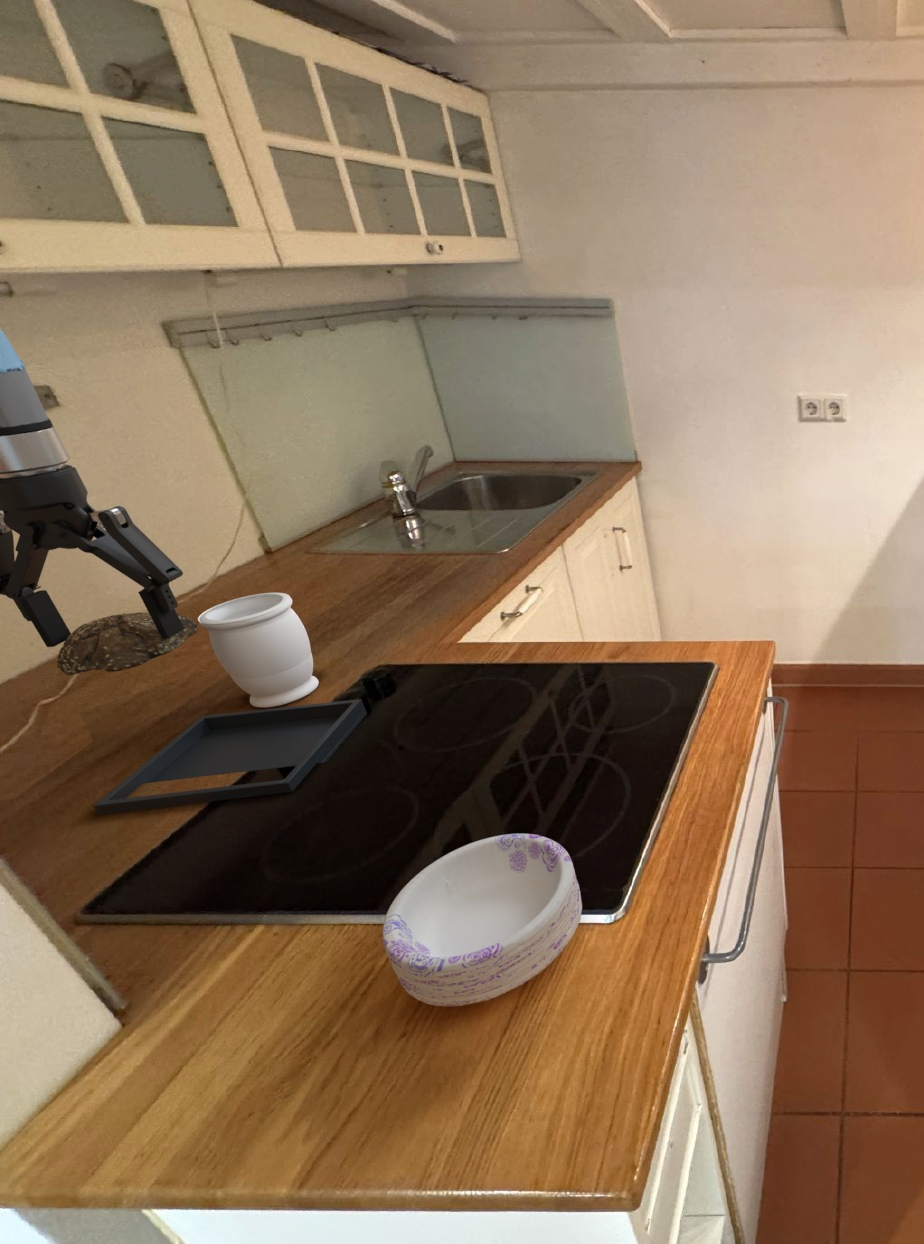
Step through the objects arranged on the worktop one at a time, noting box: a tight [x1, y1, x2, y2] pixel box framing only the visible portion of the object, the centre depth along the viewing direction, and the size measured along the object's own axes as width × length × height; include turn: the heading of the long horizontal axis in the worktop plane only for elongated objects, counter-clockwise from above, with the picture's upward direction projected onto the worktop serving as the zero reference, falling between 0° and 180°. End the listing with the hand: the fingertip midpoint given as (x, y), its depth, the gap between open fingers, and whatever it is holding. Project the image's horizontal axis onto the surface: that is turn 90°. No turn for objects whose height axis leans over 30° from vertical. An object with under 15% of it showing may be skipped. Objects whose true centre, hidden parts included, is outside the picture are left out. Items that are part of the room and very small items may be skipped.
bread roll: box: [56, 612, 199, 676], centre depth 88 cm, size 13×12×5 cm
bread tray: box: [93, 698, 368, 816], centre depth 91 cm, size 21×19×3 cm
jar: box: [197, 592, 320, 709], centre depth 104 cm, size 11×10×15 cm
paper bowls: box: [382, 833, 583, 1007], centre depth 63 cm, size 15×15×8 cm
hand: (117, 637), depth 88 cm, fingers closed on bread roll, 12 cm apart
